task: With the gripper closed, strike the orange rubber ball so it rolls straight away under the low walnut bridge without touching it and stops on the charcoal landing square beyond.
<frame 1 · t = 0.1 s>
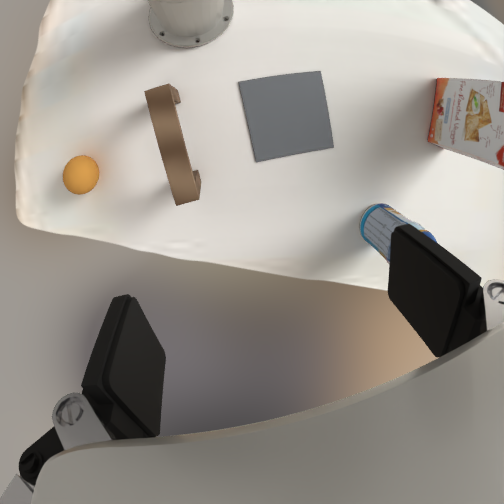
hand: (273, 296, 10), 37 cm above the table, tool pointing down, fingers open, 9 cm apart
ball: (80, 174, 37), on the table
beverage bottle: (376, 222, 52), on the table
bridge: (179, 138, 40), on the table
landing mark: (288, 114, 41), on the table
cracker box: (440, 113, 43), on the table
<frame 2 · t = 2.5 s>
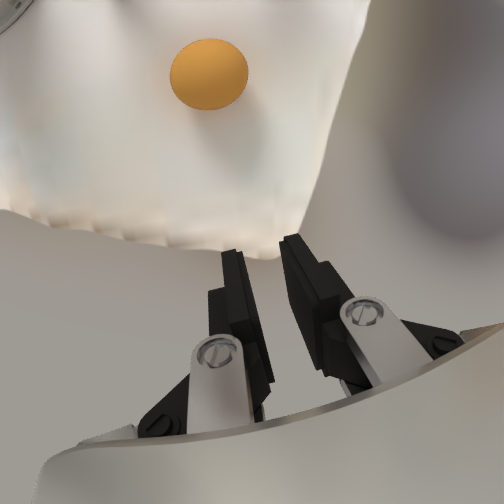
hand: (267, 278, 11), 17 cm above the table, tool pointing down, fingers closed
ball: (208, 74, 19), on the table
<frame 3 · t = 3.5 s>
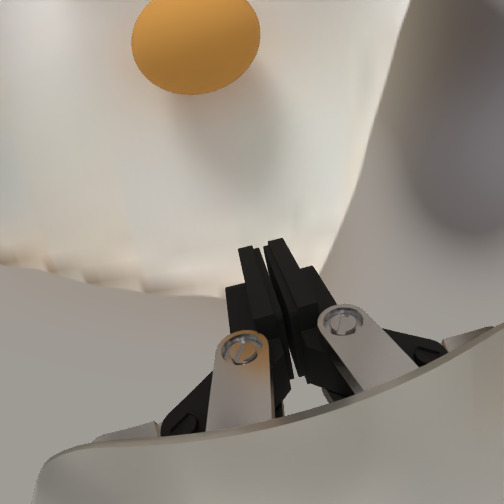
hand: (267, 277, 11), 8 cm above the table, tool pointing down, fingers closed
ball: (195, 37, 10), on the table
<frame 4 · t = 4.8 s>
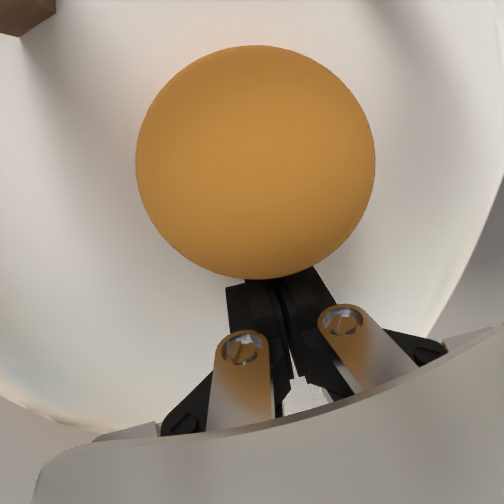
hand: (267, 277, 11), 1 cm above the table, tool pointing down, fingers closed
ball: (255, 160, 7), on the table
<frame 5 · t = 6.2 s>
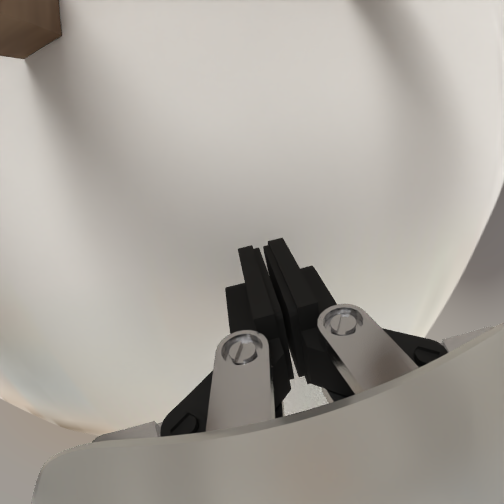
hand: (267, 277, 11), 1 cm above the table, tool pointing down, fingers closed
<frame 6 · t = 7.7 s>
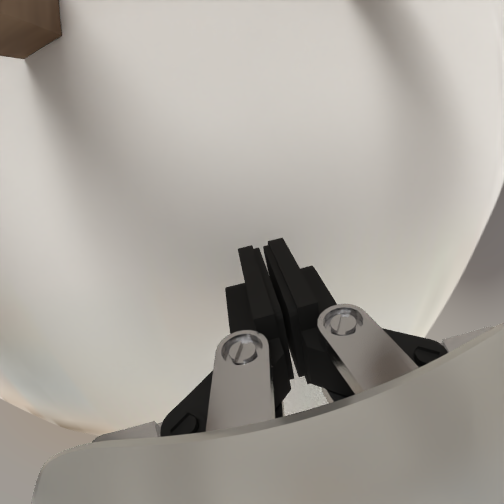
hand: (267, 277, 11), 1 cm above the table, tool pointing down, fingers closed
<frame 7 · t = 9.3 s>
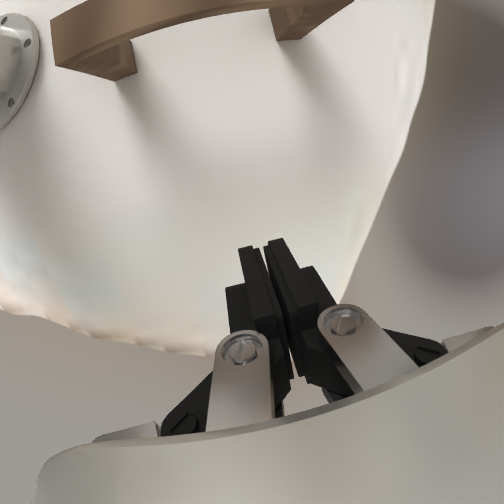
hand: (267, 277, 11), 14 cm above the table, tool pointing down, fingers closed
bridge: (202, 36, 17), on the table
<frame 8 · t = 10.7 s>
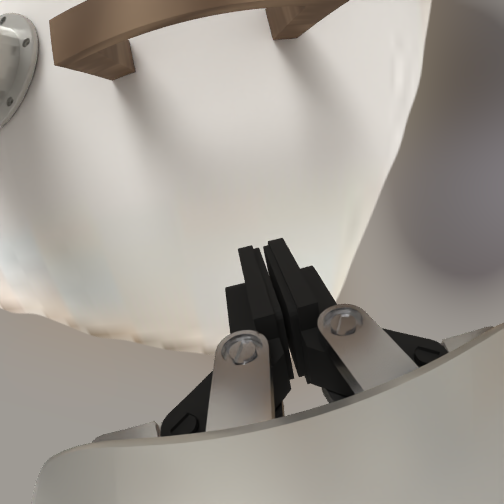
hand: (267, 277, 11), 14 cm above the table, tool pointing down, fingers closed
bridge: (200, 35, 17), on the table
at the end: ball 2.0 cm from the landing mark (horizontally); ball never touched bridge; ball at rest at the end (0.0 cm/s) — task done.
